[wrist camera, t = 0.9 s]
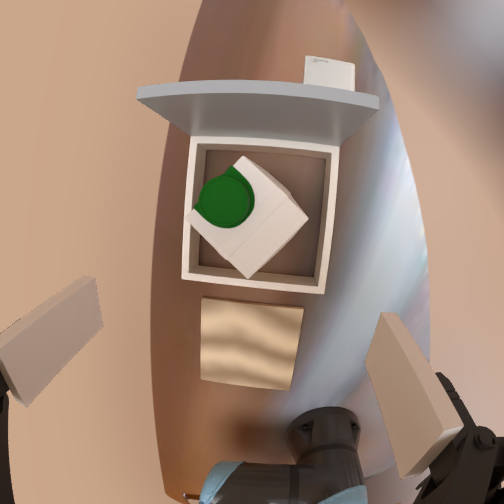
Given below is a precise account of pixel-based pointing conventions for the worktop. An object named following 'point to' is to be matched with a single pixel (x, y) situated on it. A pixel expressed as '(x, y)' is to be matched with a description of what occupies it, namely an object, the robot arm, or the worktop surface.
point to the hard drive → (329, 73)
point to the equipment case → (260, 150)
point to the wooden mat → (249, 342)
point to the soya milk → (246, 215)
